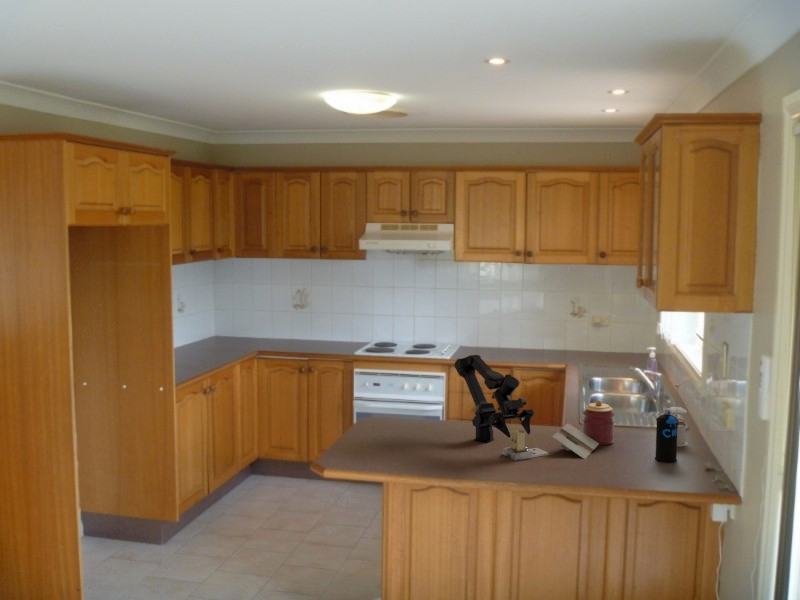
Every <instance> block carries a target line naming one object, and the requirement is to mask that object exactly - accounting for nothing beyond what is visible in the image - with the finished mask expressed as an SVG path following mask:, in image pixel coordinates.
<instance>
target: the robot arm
mask: <svg viewBox="0 0 800 600" xmlns="http://www.w3.org/2000/svg"><path fill="white" fill-rule="evenodd" d="M454 368H455V370H456V372H457V373H458V374H457V375H459V376H460V377H462V378H463V379H464V381H465V384H466V385H467V388H468V391H469V393H470V395H471V398H472V400H473V402H474V405H475V413H474V415H475V416H474V417H473V419H472V420H471V421H472V426H473V427H475V438H474V439H473V441H477V442H480V443H481V442H482V443H489V442H491V441H493V440H495V437H494V429H493V428H496V429H497V430H499V431H500V432H501V433H503V434H504V435H505V436H506V437H507V438H510V439H511V432H510V430H509V429H508V426H507V424H506V421H507V420H509V421H510V420H516V419H519V421H520V425H521V426H522V427H523V428H524V429H523V430H524V432H525V433H526V434H527V435H529V436H530V435H531V419H532V418H533V417H534V415H535V414H536V413H535V411H534V409H533V408H524V406H526V405H527V400H526V399H525V397H524V396H523V397H518V399H512V398H511V396H512V395H513V394H514V393H515V391H516V390H517V388H518V387H519V386H520V384H519V383H520V382H519V380H518V379H517V378H516V377H514V376H512V375H511V374H510V373H509V374H505V376H504V375H503V374H502V373H500V372H498V371H495V370H493V369H492V368H491V367H490V366H489V365H488V364H487V363H486V362H485V361H484V360H483V359H482V356H481V355H480V354H470V355H467V356H465V357H463V358H457V359H456V361H455V362H454ZM476 372H477V373H478V374H479V375H480V376H481V377H482V378H483V381H484V382H483V383H484V385H485V387H486V388H487V389H488V390H489V391H492V390H493V392H492V396H491V399H495V401H496V403H497V405H498V407H497V409H496V408H495V405H494V403H493V402H489V401H487V399H486V396H485V394H484V391H483V390H482V387H481V385H480V382H479V380H478V378H477V375H476ZM494 390H495V391H494ZM521 408H524V409H522V411H521V412H520V413H519V411H520V409H521ZM497 410H498V411H499V412H497Z"/></svg>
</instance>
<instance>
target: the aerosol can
mask: <svg viewBox="0 0 800 600" xmlns="http://www.w3.org/2000/svg"><path fill="white" fill-rule="evenodd" d="M677 418H678V417H677ZM677 418H676V415H674V414H673V415H672V413H671V414H670V409H668V408H665V409H664V413H663V414H661V415H659V416H658V417H656V418H655V420H656V432H655V433H656V436H655V456H654V460H655V461H657V462H660V463H665V464H670V463H671V464H673V463H676V462H677V461H678V459H677V454H678V446H677V430H678V426H679V425H678V422H679V421H678V420H677Z"/></svg>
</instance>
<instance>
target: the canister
mask: <svg viewBox="0 0 800 600" xmlns="http://www.w3.org/2000/svg"><path fill="white" fill-rule="evenodd" d="M584 409H585V410H584V411H582V414H583V419H582V433H584V434H585V435H587V436H588V437H590V438H591V439H593V440H594V441H596V442H598V443H599V444H598V446H602V445H603V446H605V445H611V444H613V443H614V440H615V438H614V437H615V436H614V435H615V434H614V433H615V432H614V431H615V429H614V428H615V426H614V425H615V421H614V417H615V413H614V412H613V410H614V409H613V407H611V405H609V404H607V403H603V401H602V400H601V399H596V400H595V402H591V403H588V404H587V405H584Z"/></svg>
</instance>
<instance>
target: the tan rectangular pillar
mask: <svg viewBox="0 0 800 600" xmlns="http://www.w3.org/2000/svg"><path fill="white" fill-rule="evenodd" d="M510 436H511V437H510V447H511V449H513V452H514V453H522V452H525V446H526V431H523V430H520V429H514V430H513V429H512V430H510Z"/></svg>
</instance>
